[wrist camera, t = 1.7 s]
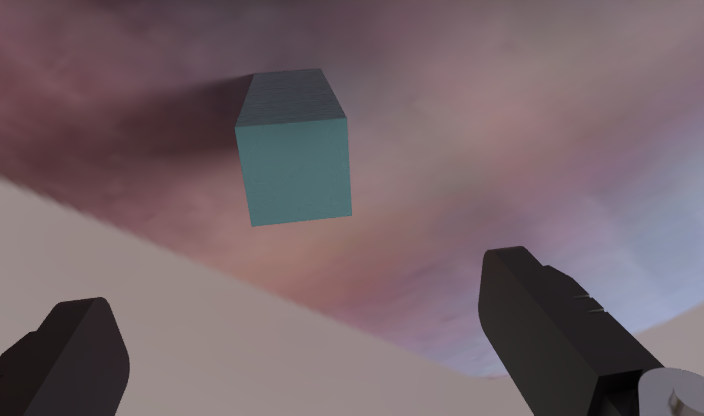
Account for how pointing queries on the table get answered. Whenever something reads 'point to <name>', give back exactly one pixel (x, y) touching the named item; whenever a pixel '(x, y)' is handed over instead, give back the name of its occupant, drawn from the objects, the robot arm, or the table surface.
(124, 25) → the table surface
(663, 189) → the table surface
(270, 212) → the bracket post
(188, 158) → the table surface
